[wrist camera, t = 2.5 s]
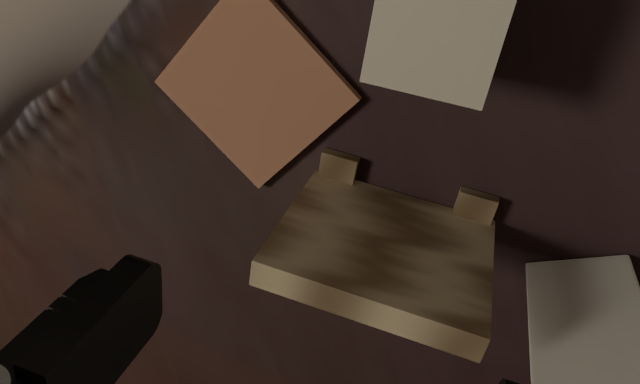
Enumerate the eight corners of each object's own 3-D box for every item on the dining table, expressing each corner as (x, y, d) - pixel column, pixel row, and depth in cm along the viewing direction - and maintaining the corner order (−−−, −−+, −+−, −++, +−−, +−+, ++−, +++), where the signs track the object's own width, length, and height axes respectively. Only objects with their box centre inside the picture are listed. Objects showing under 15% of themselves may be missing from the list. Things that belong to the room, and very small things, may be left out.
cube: (486, 75, 31) (481, 110, 25) (383, 52, 32) (359, 81, 27) (523, -45, 27) (526, -32, 22) (407, -66, 28) (385, -58, 23)
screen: (504, 198, 33) (502, 312, 24) (479, 261, 36) (468, 386, 27) (321, 146, 36) (254, 233, 26) (309, 209, 38) (246, 308, 29)
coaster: (261, 184, 38) (258, 188, 38) (159, 79, 37) (154, 81, 36) (361, 97, 33) (359, 100, 33) (247, -30, 32) (243, -29, 31)
